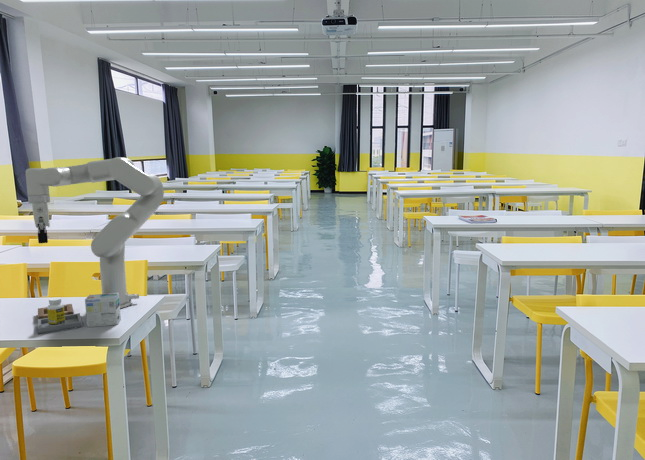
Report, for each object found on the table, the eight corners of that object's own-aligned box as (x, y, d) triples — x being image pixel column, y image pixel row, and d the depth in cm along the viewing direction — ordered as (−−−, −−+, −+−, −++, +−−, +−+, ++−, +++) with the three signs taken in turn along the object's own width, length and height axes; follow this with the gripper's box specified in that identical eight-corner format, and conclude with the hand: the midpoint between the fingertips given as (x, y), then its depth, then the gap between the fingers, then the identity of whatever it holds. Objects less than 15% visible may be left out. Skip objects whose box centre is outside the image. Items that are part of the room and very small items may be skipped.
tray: (80, 318, 186) (79, 313, 185) (82, 327, 175) (81, 321, 175) (38, 324, 179) (37, 319, 178) (38, 334, 168) (37, 329, 168)
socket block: (72, 309, 197) (71, 303, 196) (74, 317, 186) (73, 311, 186) (38, 314, 191) (37, 308, 190) (38, 323, 180) (37, 316, 180)
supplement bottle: (58, 327, 174) (55, 301, 172) (45, 326, 175) (42, 300, 173) (68, 322, 179) (66, 297, 177) (56, 321, 180) (53, 296, 178)
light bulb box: (121, 319, 184) (119, 292, 182) (117, 325, 177) (115, 296, 176) (91, 321, 182) (89, 294, 180) (86, 327, 175) (84, 299, 173)
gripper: (50, 200, 186) (54, 243, 189) (49, 197, 201) (53, 237, 203) (27, 201, 182) (32, 245, 185) (28, 198, 197) (32, 239, 200)
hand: (43, 241), depth 194 cm, fingers open, 9 cm apart
